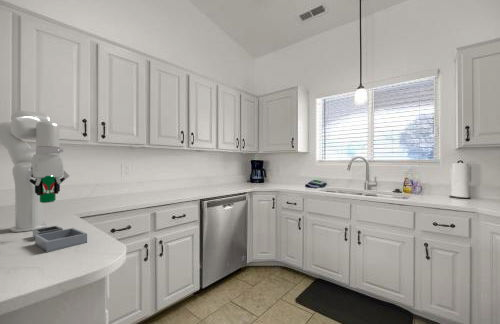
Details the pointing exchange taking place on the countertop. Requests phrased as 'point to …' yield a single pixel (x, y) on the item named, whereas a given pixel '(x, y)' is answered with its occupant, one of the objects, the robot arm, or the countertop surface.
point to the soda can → (48, 189)
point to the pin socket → (46, 230)
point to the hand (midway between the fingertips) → (47, 193)
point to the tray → (60, 239)
